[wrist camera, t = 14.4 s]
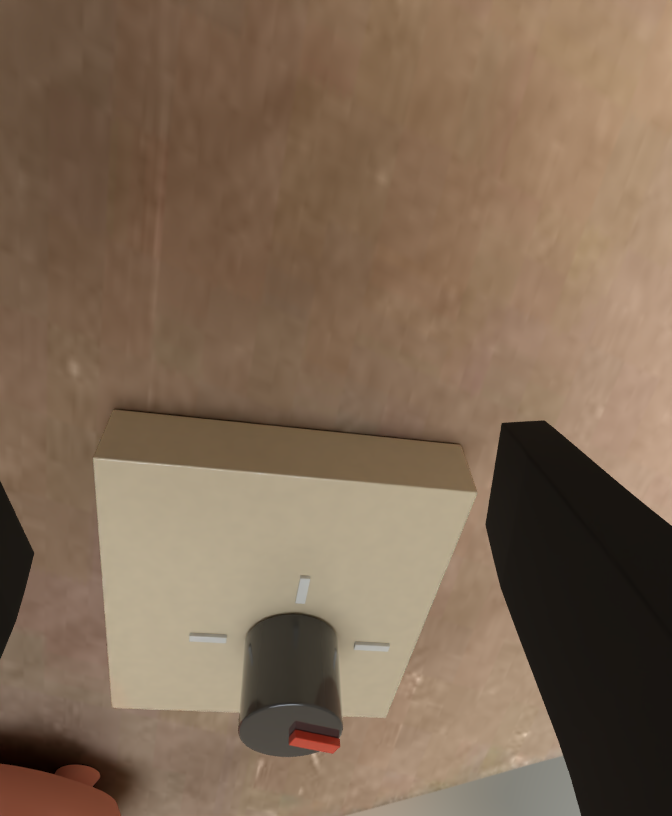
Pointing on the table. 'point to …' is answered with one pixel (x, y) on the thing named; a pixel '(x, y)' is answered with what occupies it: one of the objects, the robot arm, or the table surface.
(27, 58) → the table surface
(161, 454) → the beige flat block
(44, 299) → the table surface
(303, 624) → the knob
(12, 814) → the pink rounded body
